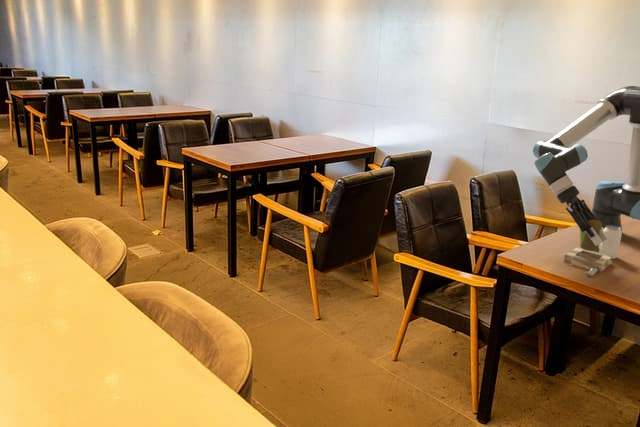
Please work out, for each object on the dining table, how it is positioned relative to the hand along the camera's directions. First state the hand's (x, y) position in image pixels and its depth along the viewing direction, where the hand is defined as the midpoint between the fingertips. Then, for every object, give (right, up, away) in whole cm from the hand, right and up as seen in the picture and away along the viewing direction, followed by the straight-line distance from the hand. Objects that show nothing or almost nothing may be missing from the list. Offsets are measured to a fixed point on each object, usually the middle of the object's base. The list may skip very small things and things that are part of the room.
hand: (601, 242), depth 199 cm
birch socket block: (-3, -8, +5) cm, 10 cm away
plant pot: (+6, -3, +23) cm, 24 cm away
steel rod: (-5, -11, -4) cm, 13 cm away
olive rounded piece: (-3, -3, +4) cm, 5 cm away
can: (+9, -6, +13) cm, 17 cm away
